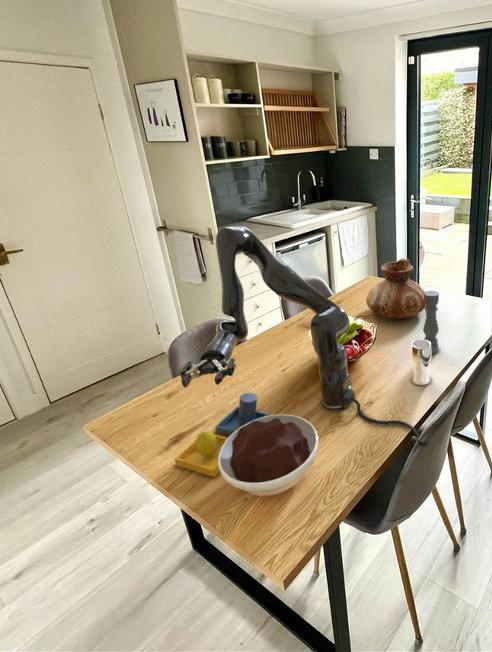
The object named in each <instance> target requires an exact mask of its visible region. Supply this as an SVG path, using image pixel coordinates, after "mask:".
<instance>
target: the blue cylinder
mask: <svg viewBox="0 0 492 652" xmlns="http://www.w3.org/2000/svg"><path fill="white" fill-rule="evenodd" d="M257 403H258V396H257V395H256V394H255V393H253V392H244V393H242V394H241V395H240V397H239V405H238V407H239V416H238V424H239V425H240V426H243V425H245V424H247V423H249V422H251V421H253V420H255V416H256V411H257Z"/></svg>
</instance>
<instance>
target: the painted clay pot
mask: <svg viewBox="0 0 492 652" xmlns="http://www.w3.org/2000/svg"><path fill="white" fill-rule="evenodd" d="M380 271H381V273H382V274H383V276H384V280H381V281H380V282H378V283H377V284H375V285H374V286H372V288H370V289H369V291H368V293H367V294H366V295H367V296H366V299H365V302H366V305H367V306H366V307H368V309H369V310H370V311H372V312H373V313H375V314H376V315H379V316H381V317H385V318H388V319H395V320H400V319H401V320H402V319H408V318H411V317H413V316H416V315H418V314H420V313H421V312H423V310H425V306H426V304H425V302H424V292H426V291H425V290H424V289H423V287H422V286H421V285H420V284H419V283H417V282H415V281H414V280H412V279H411V278H410V276H411V274H412V273H413V271H414V267H413V265H412V264H411V261H410V259H409V258H403V257H401V258H400V259H398V260H395V261H388V262H385V263H383V264H381V266H380Z"/></svg>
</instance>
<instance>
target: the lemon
mask: <svg viewBox="0 0 492 652" xmlns="http://www.w3.org/2000/svg"><path fill="white" fill-rule="evenodd" d="M215 435H216V434H215ZM215 435H214V432H212V431H209V430H205V431H202V432H200V433H199V434H198V435H197V436H196V438H195V440H196V443H195V446H196V449H197V452H198V453H199V454H200V455H202V456H210V455H212V454H213V453H214V452H215V451H216V449H217V446H218V442H217V438H216V436H215Z"/></svg>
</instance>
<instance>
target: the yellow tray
mask: <svg viewBox="0 0 492 652" xmlns="http://www.w3.org/2000/svg"><path fill="white" fill-rule="evenodd" d="M213 434H214V433H213ZM214 435H215V436H216V438H217V442H218V446H217V449H216V451H215V452H214V453H213V454H212V455H210V456H202V455H200V454H199V453H198V452H197V449H196V446H195V443H196V439H195V440H193V441H192V442H191V443H190V444H189V445H188V446H186V448H185V449H184V450H182V451H181V452H180V453H179V454H178V455H177V456H175V457H174V462H175V465H176V466H177V467H181V468H184V469H186V470H190V471H194V472H197V473H200V474H203V475H207V476H210V477H213V478H215V477H217V476H218V475H219V473H220V471H219V468H218V456H219V452H220V450H221V447H222V446H223V444H224V442H225V441H226V440H227V439H228V437H226V436H221V435H218V434H214Z"/></svg>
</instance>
